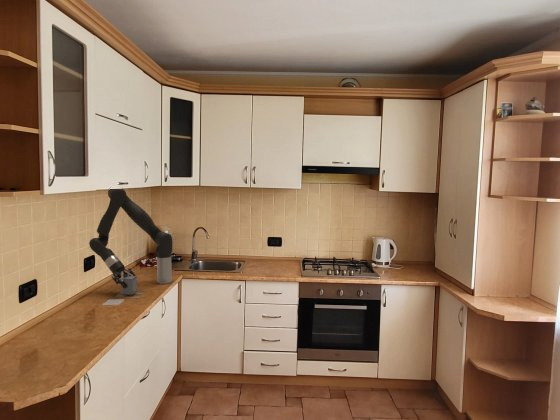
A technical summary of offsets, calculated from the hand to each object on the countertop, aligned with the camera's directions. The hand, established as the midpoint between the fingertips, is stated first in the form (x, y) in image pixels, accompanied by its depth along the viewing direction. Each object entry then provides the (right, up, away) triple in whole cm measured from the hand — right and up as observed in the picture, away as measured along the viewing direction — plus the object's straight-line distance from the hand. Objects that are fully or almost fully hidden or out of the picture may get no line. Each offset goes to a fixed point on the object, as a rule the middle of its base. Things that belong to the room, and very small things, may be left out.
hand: (131, 285), depth 221 cm
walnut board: (-1, -6, +1) cm, 7 cm away
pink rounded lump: (-1, -5, +1) cm, 6 cm away
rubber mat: (-5, -8, -12) cm, 15 cm away
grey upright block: (-1, -4, +1) cm, 4 cm away
